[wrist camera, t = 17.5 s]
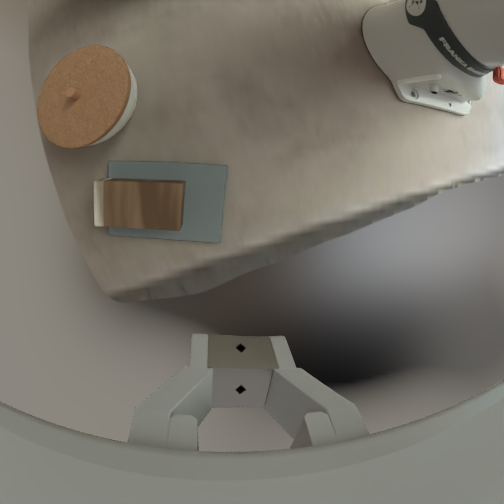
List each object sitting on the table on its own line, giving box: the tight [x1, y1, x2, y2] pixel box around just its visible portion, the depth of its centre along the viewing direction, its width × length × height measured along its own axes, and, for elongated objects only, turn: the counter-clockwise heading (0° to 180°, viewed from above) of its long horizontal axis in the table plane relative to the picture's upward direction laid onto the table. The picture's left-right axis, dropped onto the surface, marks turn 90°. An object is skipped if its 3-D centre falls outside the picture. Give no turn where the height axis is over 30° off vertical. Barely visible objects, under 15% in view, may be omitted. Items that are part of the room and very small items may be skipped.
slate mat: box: [108, 161, 228, 243], centre depth 31 cm, size 14×9×1 cm, turn 83°
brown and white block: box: [94, 178, 186, 231], centre depth 29 cm, size 3×5×10 cm
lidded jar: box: [38, 46, 137, 149], centre depth 22 cm, size 11×11×9 cm
